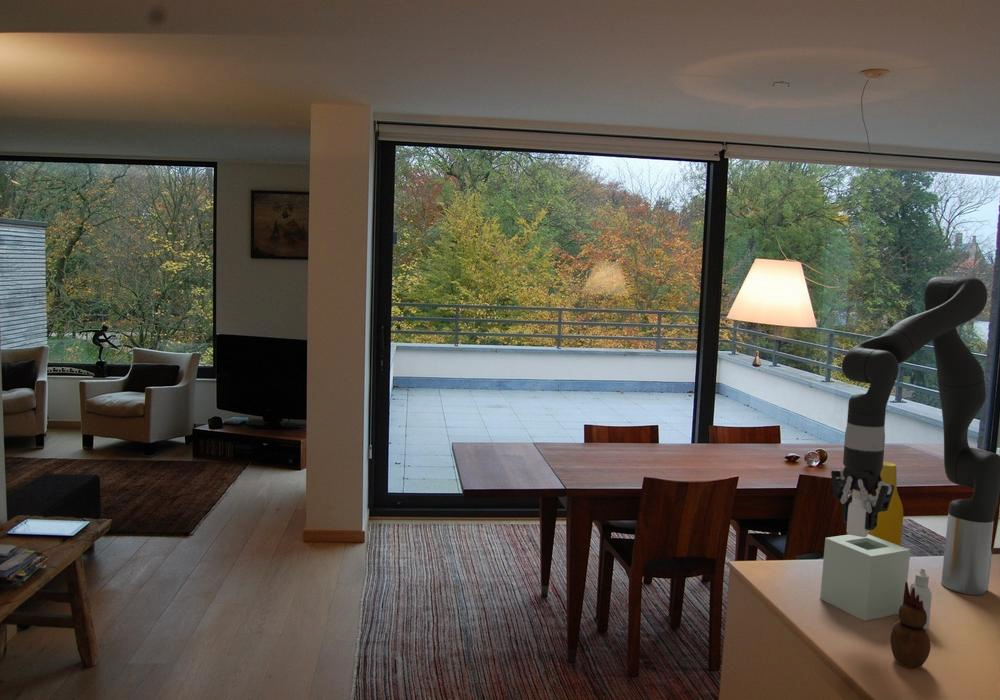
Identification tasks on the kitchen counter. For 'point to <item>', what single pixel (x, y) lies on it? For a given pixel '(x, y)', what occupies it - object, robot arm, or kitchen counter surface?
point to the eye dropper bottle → (923, 592)
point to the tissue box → (864, 575)
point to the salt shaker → (857, 515)
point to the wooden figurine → (910, 632)
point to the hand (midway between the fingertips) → (858, 524)
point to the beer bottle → (890, 510)
